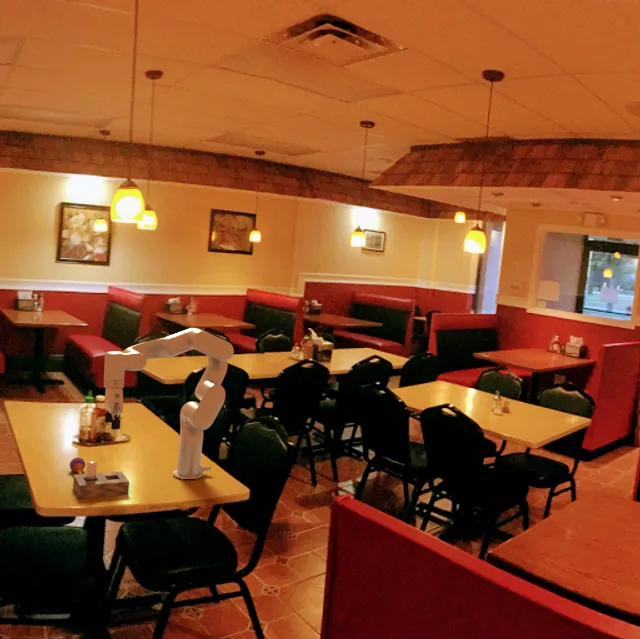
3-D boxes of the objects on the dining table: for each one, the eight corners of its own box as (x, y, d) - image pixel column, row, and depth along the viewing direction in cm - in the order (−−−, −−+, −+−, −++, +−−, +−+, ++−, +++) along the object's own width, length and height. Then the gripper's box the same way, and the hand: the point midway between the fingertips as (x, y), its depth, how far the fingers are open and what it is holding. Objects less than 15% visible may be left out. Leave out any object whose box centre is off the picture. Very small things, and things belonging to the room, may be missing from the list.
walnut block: (120, 483, 258) (121, 471, 257) (128, 494, 247) (129, 481, 247) (73, 487, 248) (73, 474, 248) (78, 498, 238) (79, 485, 238)
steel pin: (93, 486, 248) (95, 460, 247) (95, 489, 245) (97, 463, 244) (84, 486, 246) (86, 461, 245) (86, 490, 243) (88, 464, 242)
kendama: (73, 476, 249) (68, 457, 267) (75, 491, 251) (69, 470, 268) (89, 473, 252) (83, 453, 269) (91, 487, 253) (85, 467, 271)
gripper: (129, 387, 247) (128, 431, 249) (117, 378, 262) (116, 419, 263) (109, 388, 243) (108, 432, 245) (98, 379, 258) (97, 421, 259)
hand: (112, 425), depth 254 cm, fingers open, 9 cm apart
